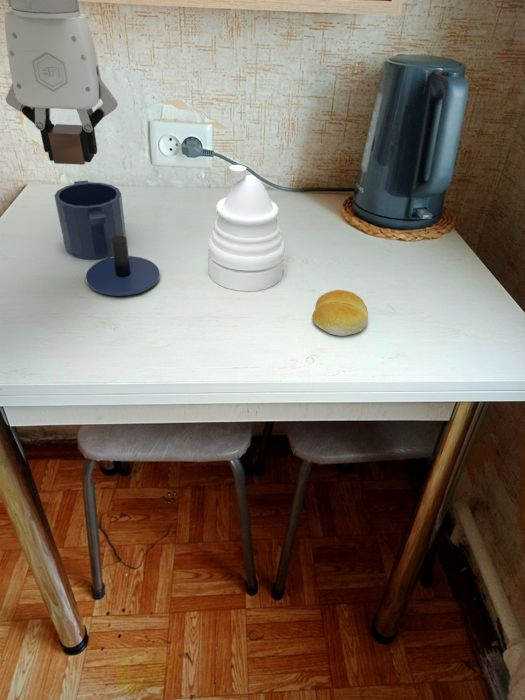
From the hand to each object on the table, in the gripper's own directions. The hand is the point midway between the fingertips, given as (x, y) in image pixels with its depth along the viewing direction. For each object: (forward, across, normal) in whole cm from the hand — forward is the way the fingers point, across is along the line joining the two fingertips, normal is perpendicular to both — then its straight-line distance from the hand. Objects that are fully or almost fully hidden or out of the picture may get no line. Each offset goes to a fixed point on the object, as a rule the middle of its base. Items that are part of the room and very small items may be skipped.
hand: (72, 156), depth 71 cm
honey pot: (+20, +25, +4) cm, 32 cm away
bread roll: (+20, +39, -10) cm, 45 cm away
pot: (+20, -2, +11) cm, 23 cm away
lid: (+19, +5, 0) cm, 20 cm away
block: (0, 0, 0) cm, 0 cm away
